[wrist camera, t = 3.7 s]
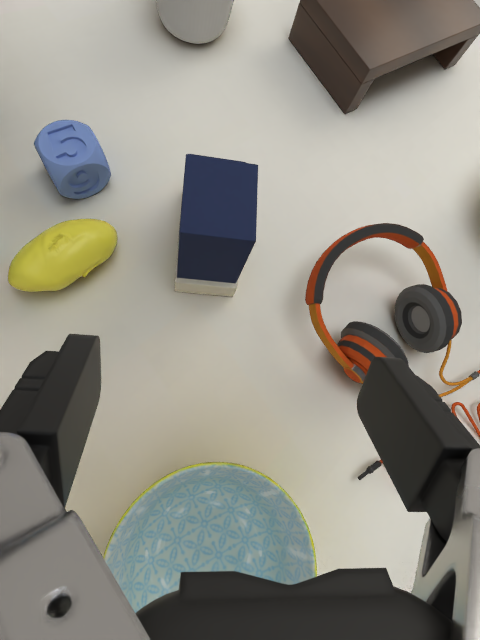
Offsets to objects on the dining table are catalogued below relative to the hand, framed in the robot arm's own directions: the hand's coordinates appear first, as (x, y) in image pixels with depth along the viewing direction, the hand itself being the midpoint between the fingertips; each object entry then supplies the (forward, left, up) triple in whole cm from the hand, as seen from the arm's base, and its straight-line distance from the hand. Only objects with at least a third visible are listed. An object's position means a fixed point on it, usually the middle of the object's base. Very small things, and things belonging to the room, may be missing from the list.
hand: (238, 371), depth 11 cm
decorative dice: (-16, +13, -18) cm, 27 cm away
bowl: (+4, -8, -18) cm, 20 cm away
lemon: (-13, +6, -18) cm, 23 cm away
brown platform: (+3, +40, -18) cm, 44 cm away
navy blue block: (-4, +12, -18) cm, 22 cm away
